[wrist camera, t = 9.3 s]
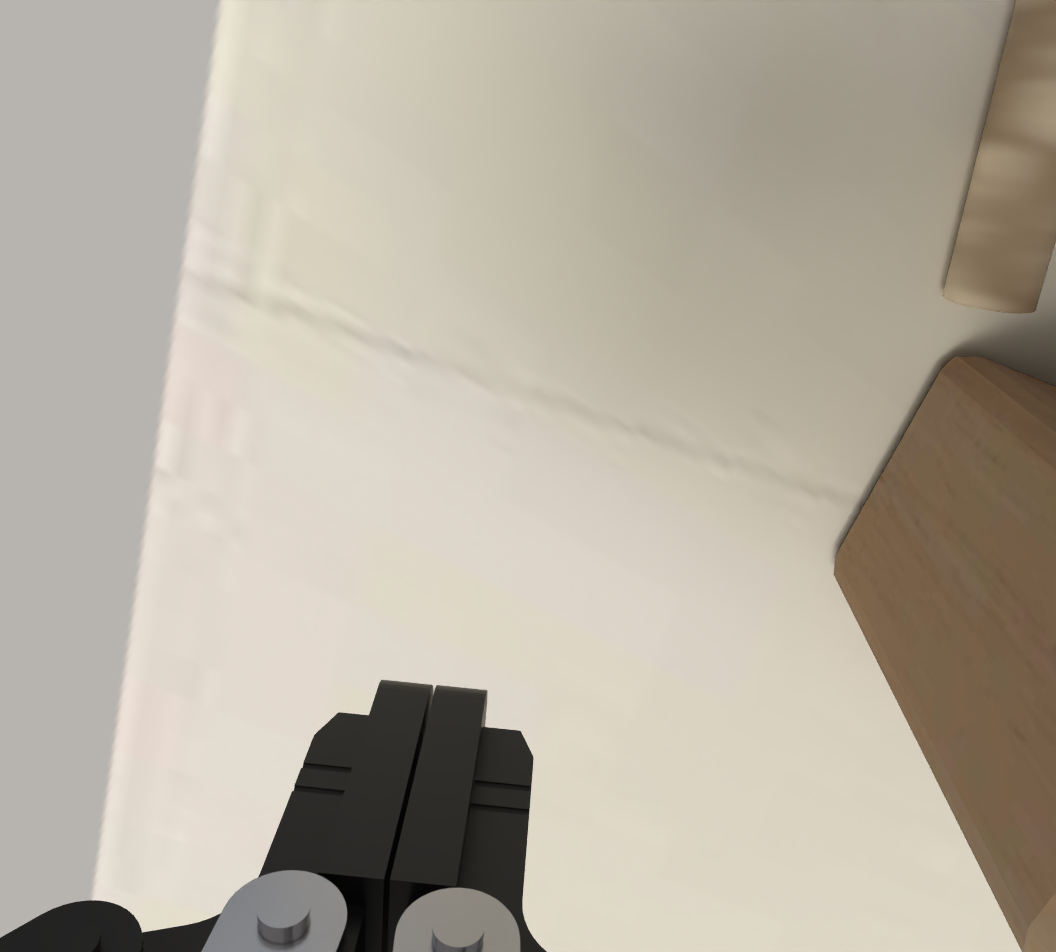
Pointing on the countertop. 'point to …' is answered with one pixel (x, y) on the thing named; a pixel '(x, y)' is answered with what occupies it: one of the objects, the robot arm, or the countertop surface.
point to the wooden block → (974, 617)
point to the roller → (1013, 176)
